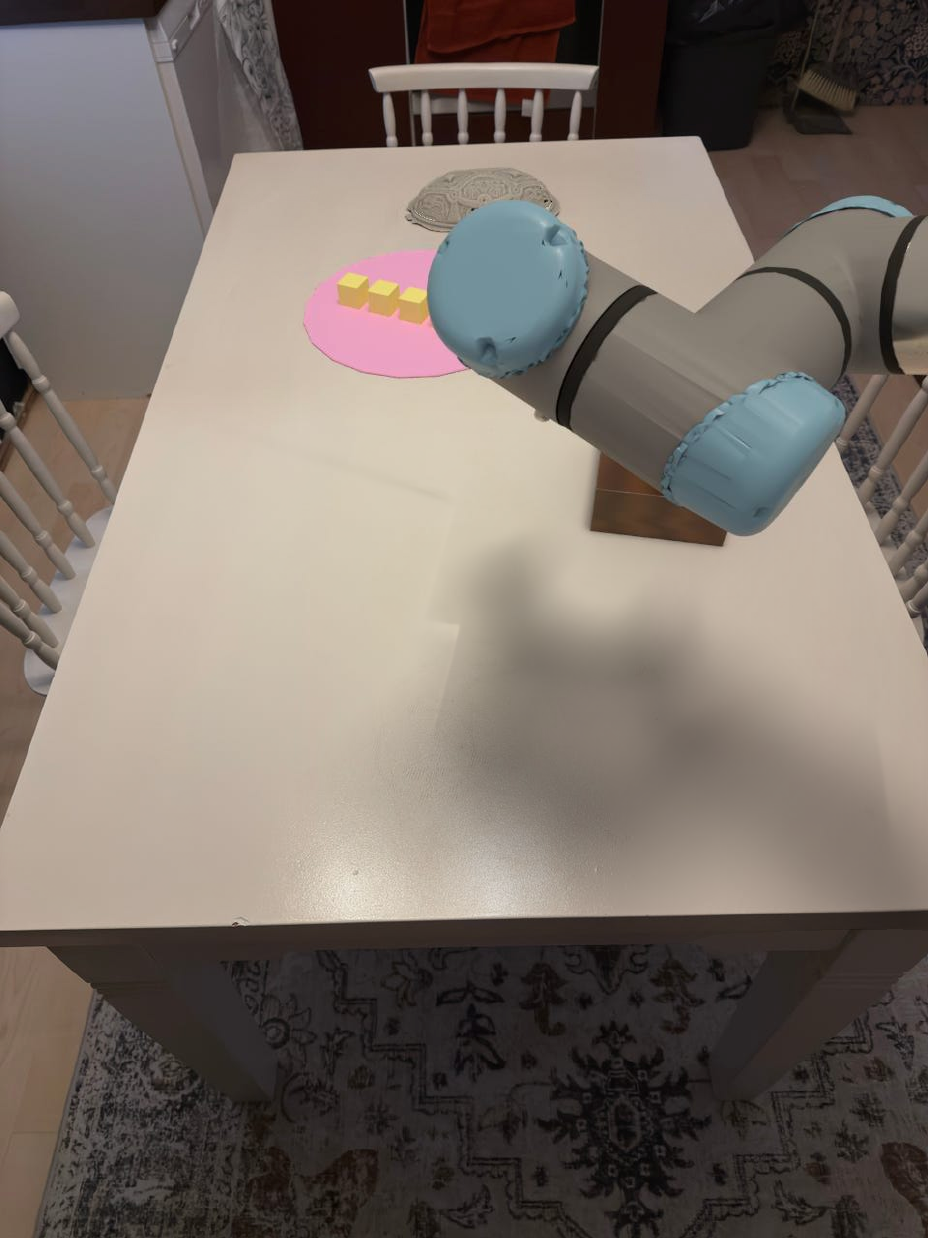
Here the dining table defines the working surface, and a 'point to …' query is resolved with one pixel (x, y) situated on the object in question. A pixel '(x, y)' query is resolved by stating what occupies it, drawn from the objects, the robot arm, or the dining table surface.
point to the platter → (380, 318)
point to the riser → (644, 509)
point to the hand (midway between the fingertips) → (644, 422)
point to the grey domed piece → (474, 195)
